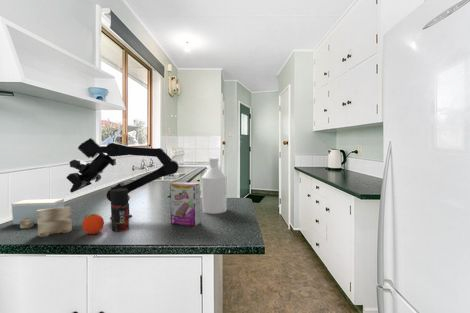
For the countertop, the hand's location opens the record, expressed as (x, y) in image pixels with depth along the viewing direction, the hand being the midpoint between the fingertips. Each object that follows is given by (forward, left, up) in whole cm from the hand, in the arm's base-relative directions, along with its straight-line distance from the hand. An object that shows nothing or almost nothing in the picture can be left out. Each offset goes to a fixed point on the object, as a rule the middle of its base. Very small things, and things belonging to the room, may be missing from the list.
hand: (71, 191), depth 107 cm
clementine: (-23, +7, -12) cm, 27 cm away
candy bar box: (-48, -15, -12) cm, 52 cm away
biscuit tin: (+12, +6, -12) cm, 18 cm away
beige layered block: (-10, +12, -12) cm, 20 cm away
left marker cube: (+7, +13, -12) cm, 19 cm away
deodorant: (-29, 0, -12) cm, 32 cm away
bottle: (-49, -37, -12) cm, 62 cm away
